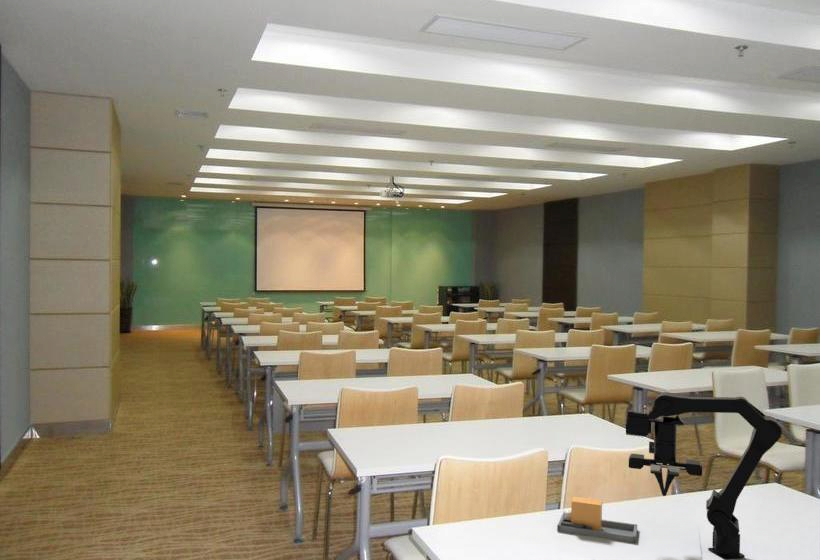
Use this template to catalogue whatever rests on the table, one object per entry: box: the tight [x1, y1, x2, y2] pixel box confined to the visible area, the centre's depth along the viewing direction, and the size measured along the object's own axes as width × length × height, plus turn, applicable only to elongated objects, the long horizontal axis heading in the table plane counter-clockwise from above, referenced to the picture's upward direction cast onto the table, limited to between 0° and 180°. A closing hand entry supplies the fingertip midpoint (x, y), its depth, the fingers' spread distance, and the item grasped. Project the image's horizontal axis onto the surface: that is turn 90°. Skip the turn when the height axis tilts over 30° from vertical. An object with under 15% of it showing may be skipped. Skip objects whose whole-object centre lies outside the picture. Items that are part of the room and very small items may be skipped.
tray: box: [556, 513, 638, 544], centre depth 188 cm, size 21×10×3 cm, turn 69°
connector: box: [562, 496, 603, 531], centre depth 190 cm, size 10×4×8 cm, turn 69°
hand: (664, 495), depth 182 cm, fingers closed
